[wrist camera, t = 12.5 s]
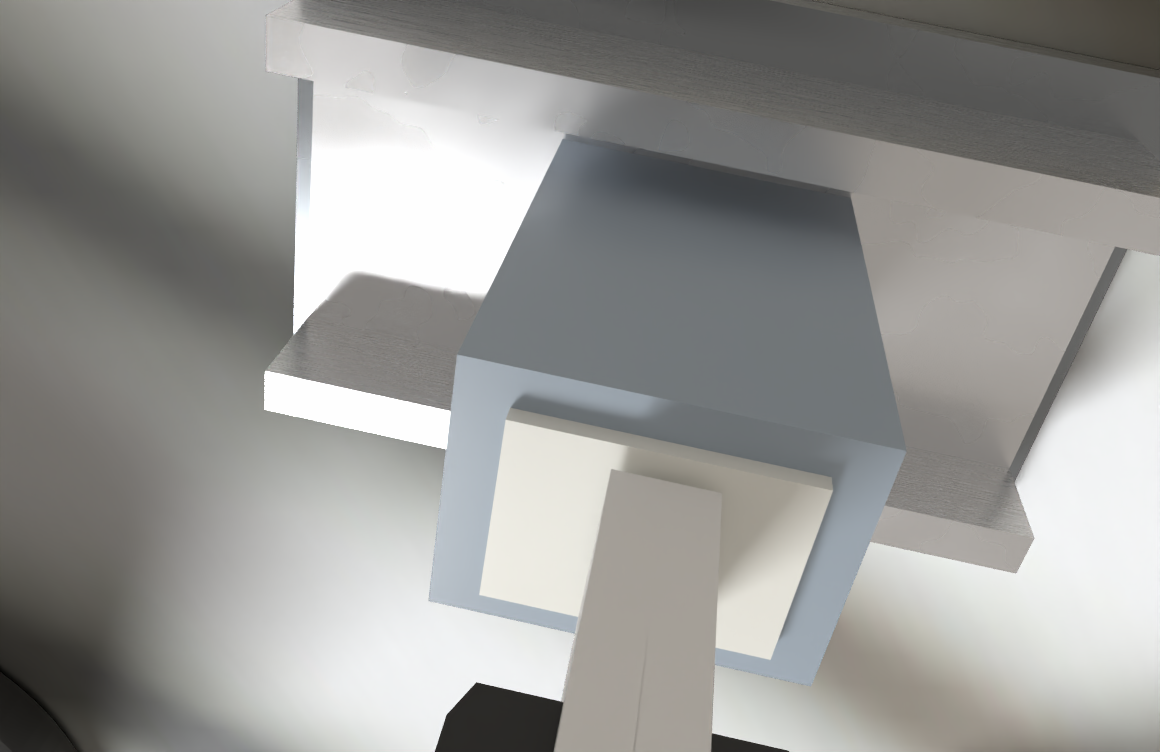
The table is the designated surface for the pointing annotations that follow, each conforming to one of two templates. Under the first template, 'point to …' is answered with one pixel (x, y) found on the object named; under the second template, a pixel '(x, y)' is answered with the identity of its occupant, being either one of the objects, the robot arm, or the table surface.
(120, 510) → the table surface
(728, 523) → the block
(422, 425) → the grey piece
